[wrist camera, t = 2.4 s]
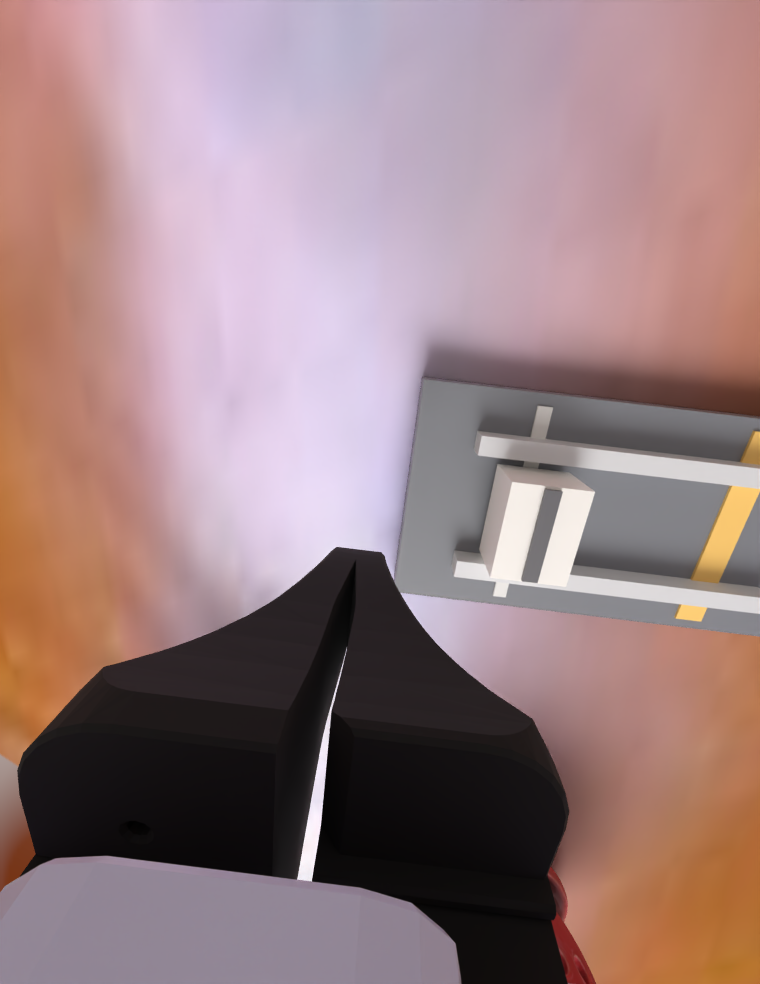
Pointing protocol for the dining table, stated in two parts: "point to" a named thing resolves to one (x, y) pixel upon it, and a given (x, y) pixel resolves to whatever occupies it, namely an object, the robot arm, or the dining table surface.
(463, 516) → the board
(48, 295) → the dining table surface
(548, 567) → the fader tab
